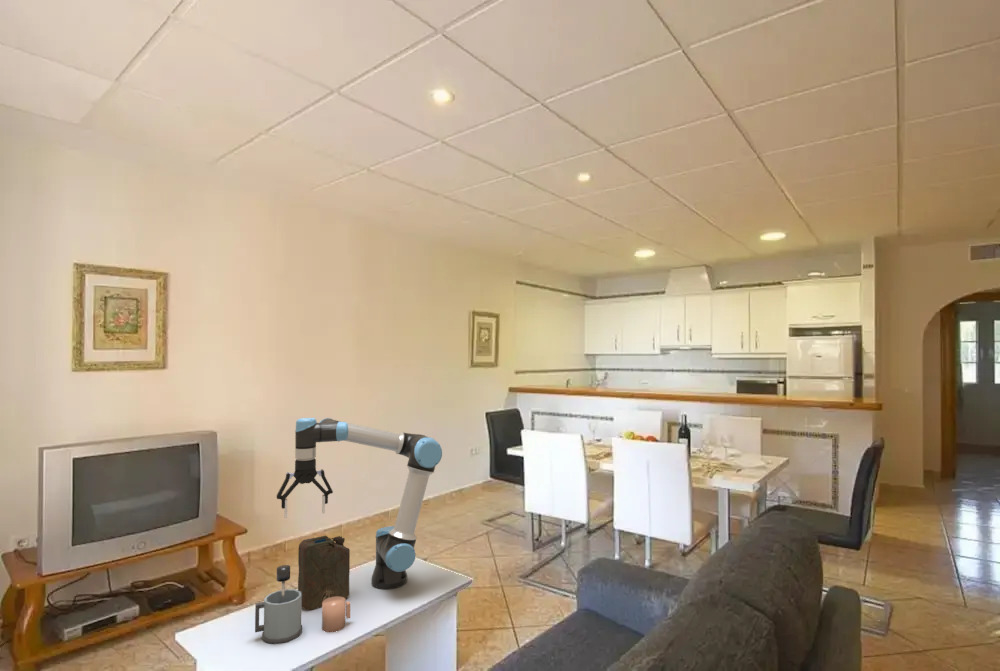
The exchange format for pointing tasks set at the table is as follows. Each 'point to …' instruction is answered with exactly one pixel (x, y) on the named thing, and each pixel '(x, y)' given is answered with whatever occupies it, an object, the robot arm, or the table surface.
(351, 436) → the robot arm
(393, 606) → the table surface
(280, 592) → the faceted grey tankard
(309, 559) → the canister
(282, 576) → the plunger
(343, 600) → the peach mug
